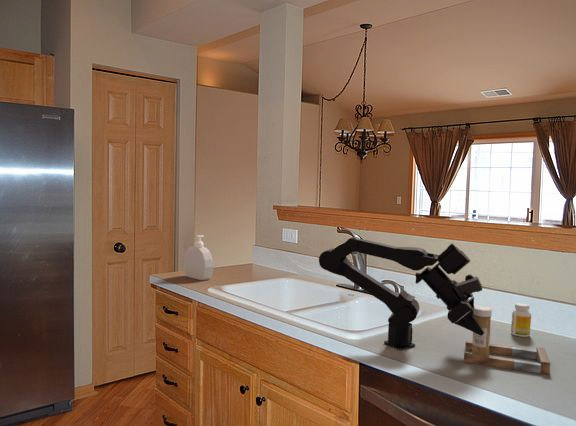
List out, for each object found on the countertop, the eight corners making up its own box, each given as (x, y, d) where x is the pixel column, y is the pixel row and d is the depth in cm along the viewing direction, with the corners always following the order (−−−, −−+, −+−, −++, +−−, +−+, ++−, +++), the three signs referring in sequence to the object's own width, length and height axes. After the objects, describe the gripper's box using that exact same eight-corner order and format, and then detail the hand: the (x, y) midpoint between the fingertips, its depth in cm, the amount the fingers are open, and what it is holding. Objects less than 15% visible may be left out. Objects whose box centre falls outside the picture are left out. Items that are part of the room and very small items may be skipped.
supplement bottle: (507, 332, 154) (508, 302, 153) (520, 331, 156) (521, 301, 155) (520, 338, 149) (522, 307, 148) (534, 336, 151) (535, 306, 150)
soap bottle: (214, 279, 225) (214, 236, 223) (205, 281, 221) (205, 237, 219) (192, 274, 235) (193, 233, 234) (183, 276, 231) (183, 234, 230)
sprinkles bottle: (492, 357, 131) (495, 308, 130) (482, 361, 129) (485, 310, 128) (478, 352, 135) (480, 304, 134) (467, 355, 132) (470, 306, 132)
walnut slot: (463, 361, 128) (464, 350, 128) (465, 347, 139) (466, 337, 139) (549, 374, 120) (550, 362, 120) (544, 358, 131) (544, 347, 131)
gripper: (463, 272, 123) (508, 320, 120) (465, 261, 141) (505, 303, 137) (429, 299, 127) (473, 347, 124) (436, 285, 144) (474, 327, 141)
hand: (483, 329), depth 131 cm, fingers open, 9 cm apart
